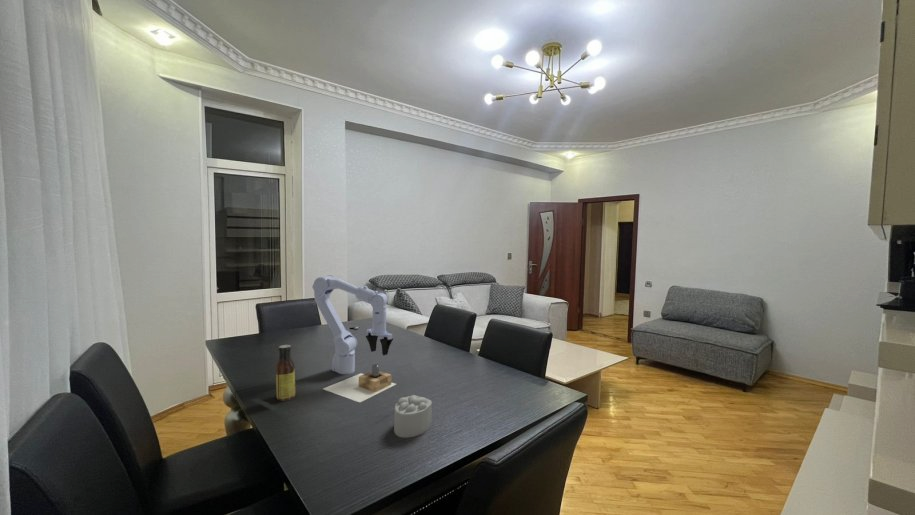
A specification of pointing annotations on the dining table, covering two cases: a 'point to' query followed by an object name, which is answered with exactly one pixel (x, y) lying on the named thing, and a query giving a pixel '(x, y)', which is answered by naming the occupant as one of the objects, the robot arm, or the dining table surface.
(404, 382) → the dining table surface
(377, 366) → the metal peg
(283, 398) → the sauce bottle
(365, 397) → the board
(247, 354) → the dining table surface
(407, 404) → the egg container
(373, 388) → the square wooden ring
